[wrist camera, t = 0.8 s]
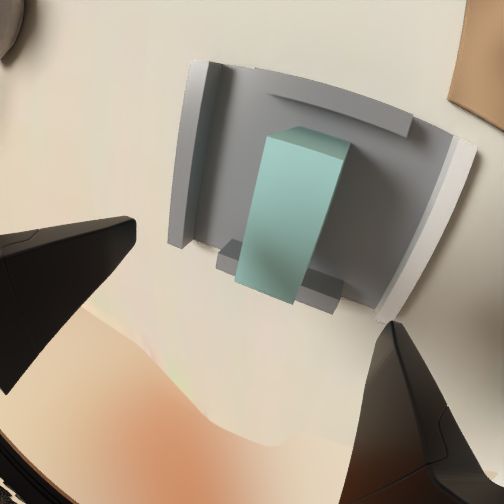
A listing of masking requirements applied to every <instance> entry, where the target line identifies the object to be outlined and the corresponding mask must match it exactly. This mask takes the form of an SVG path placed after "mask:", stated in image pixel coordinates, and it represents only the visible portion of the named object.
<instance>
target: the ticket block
mask: <svg viewBox="0 0 504 504" xmlns="http://www.w3.org/2000/svg"><path fill="white" fill-rule="evenodd" d="M350 144H351V142H348V141H345V140H343V139H340V138H337V137H334V136H331V135H328V134H324V133H321V132H318V131H315V130H312V129H308V128H305V127H302V126H298V127H294V128H291V129H288V130H285V131H282V132H278V133H275V134H272V135H269V136H267V138H266V142H265V146H264V151H263V155H262V160H261V164H260V168H259V173H258V177H257V181H256V186H255V190H254V195H253V199H252V204H251V208H250V212H249V217H248V221H247V226H246V230H245V235H244V239H243V244H242V248H241V253H240V257H239V262H238V267H237V271H236V276H235V280H234V281H235V282H237V283H240V284H242V285H245V286H247V287H249V288H252V289H254V290H257V291H259V292H262V293H264V294H267V295H269V296H272V297H274V298H277V299H279V300H282V301H284V302H287V303H290V304H292V305H293V303H294V300H295V298H296V296H297V293H298V291H299V288H300V286H301V283H302V281H303V279H304V276H305V274H306V271H307V269H308V266H309V264H310V261H311V259H312V256H313V253H314V251H315V248H316V246H317V243H318V240H319V237H320V234H321V232H322V229H323V226H324V223H325V220H326V217H327V214H328V212H329V209H330V206H331V203H332V200H333V197H334V194H335V191H336V188H337V185H338V182H339V179H340V176H341V172H342V169H343V166H344V163H345V160H346V157H347V153H348V150H349V147H350Z"/></svg>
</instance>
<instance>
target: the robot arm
mask: <svg viewBox="0 0 504 504" xmlns="http://www.w3.org/2000/svg"><path fill="white" fill-rule="evenodd" d="M135 243H136V220H135V219H133V218H131V217H128V216H120V217H113V218H106V219H99V220H92V221H85V222H79V223H72V224H66V225H60V226H54V227H48V228H42V229H40V230H39V229H36V230H31V231H24V232H19V233H12V234H4V235H0V389H1V390H2V391H3V393H4V394H5V395H7V394H8V393H9V392H10V391H11V389H12V388H13V387H14V385H15V384H16V383H17V381H18V380H19V379H20V377H21V376H22V375H23V374H24V372H25V371H26V370H27V369H28V367H29V366H30V365H31V364H32V362H33V361H34V360H35V359H36V357H37V356H38V355H39V353H40V352H41V351H42V350H43V349H44V347H45V346H46V345H47V344H48V343H49V342H50V340H51V339H52V338H53V337H54V336H55V335H56V333H57V332H58V331H59V330H60V329H61V328H62V326H63V325H64V324H65V323H66V322H67V321H68V320H69V319H70V318H71V316H72V315H73V314H74V313H75V312H76V311H77V310H78V309H79V308H80V307H81V305H82V304H83V303H84V302H85V301H86V300H87V299H88V298H89V297H90V296H91V295H92V294H93V293H94V291H95V290H96V289H97V288H98V287H99V286H100V285H101V284H102V283H103V282H104V281H105V280H106V279H107V278H108V277H109V276H110V275H111V273H112V272H113V271H114V270H115V269H116V267H117V266H118V265H119V264H120V262H121V261H122V260H123V259H124V257H125V256H126V255H127V254H128V253H129V251H130V250H131V249H132V248H133V246H134V245H135ZM446 406H447V403H446V401H445V399H444V397H443V395H442V393H441V391H440V390H439V388H438V386H437V384H436V382H435V380H434V378H433V376H432V375H431V373H430V371H429V369H428V367H427V366H426V364H425V362H424V360H423V358H422V357H421V355H420V353H419V351H418V350H417V348H416V346H415V345H414V343H413V341H412V339H411V338H410V336H409V334H408V333H407V331H406V329H405V328H404V326H403V325H402V324H401V323H398V322H396V321H393V320H391V321H389V322H388V324H387V325H386V327H385V328H384V330H383V331H382V333H381V334H380V336H379V337H378V339H377V341H376V344H375V348H374V352H373V356H372V360H371V364H370V368H369V372H368V376H367V380H366V384H365V389H364V394H363V401H362V406H361V412H360V417H359V423H358V428H357V433H356V437H355V442H354V447H353V451H352V455H351V460H350V464H349V468H348V472H347V476H346V479H345V483H344V487H343V491H342V494H341V497H340V501H339V504H504V487H502V486H499V485H497V484H495V483H494V482H492V481H491V480H490V479H489V478H488V477H487V476H486V475H485V473H484V472H483V470H482V468H481V466H480V464H479V463H478V461H477V459H476V457H475V455H474V454H473V452H472V450H471V448H470V446H469V445H468V443H467V441H466V439H465V437H464V436H463V434H462V432H461V430H460V429H459V427H458V425H457V423H456V421H455V419H454V417H453V415H452V413H451V411H450V409H449V407H448V406H447V407H446ZM0 478H2V479H3V480H4V482H3V483H4V484H5V485H6V486H7V487H8V488H10V489H11V490H12V491H14V492H15V493H16V495H15V496H16V497H17V498H18V499H19V500H21V501H22V502H24V503H26V504H79V503H77V502H76V501H74V500H73V499H72V498H71V497H70V496H68V495H67V494H66V493H64V492H63V491H62V490H61V489H60V488H58V487H57V486H56V485H55V484H54V483H53V482H52V481H51V480H49V479H48V478H47V477H46V476H45V475H44V474H43V473H42V472H41V471H39V470H38V469H37V468H36V467H35V466H34V465H33V464H32V463H31V462H30V461H29V460H28V459H27V458H26V457H25V456H24V455H23V454H22V453H21V452H20V451H19V450H18V449H17V448H16V446H15V445H14V444H13V443H12V442H11V441H10V440H9V439H8V438H7V437H6V435H5V434H4V433H3V432H2V431H1V430H0ZM11 497H12V495H11V494H10V493H9V492H8V491H7V490H5V489H4V488H3V487H1V486H0V504H17V503H15V502H14V501H12V499H11Z"/></svg>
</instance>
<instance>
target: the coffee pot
mask: <svg viewBox="0 0 504 504" xmlns="http://www.w3.org/2000/svg"><path fill="white" fill-rule="evenodd" d="M23 16H24V1H23V0H0V59H1V58H2V57H3V56H4V55H5V53H6V52H7V51H8V50H10V48H11V47H12V46H13V44H14V42H15V41H16V38H17V36H18V34H19V31H20V28H21V25H22V20H23Z"/></svg>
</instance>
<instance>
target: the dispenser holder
mask: <svg viewBox="0 0 504 504" xmlns="http://www.w3.org/2000/svg"><path fill="white" fill-rule="evenodd" d="M298 126H302V127H305V128H308V129H312V130H315V131H318V132H321V133H324V134H328V135H331V136H334V137H337V138H340V139H343V140H345V141H348V142H351V144H350V147H349V150H348V153H347V157H346V160H345V163H344V166H343V169H342V172H341V176H340V179H339V182H338V185H337V188H336V191H335V194H334V197H333V200H332V203H331V206H330V209H329V212H328V214H327V217H326V220H325V223H324V226H323V229H322V232H321V234H320V237H319V240H318V243H317V246H316V248H315V251H314V253H313V256H312V259H311V261H310V264H309V266H308V269H307V271H306V274H305V276H304V279H303V281H302V283H301V286H300V288H299V291H298V293H297V296H296V298H295V300H296V301H298V302H301V303H304V304H306V305H309V306H311V307H314V308H317V309H319V310H322V311H324V312H327V313H330V314H332V315H333V313H334V311H335V309H336V307H337V305H338V303H339V301H340V297H341V296H342V297H345V298H347V299H350V300H352V301H355V302H358V303H360V304H363V305H366V306H368V307H371V308H373V309H375V320H376V321H378V322H381V323H384V324H386V325H387V324H388V322H389V321H391V320H393V321H394V319H395V318H396V316H397V314H398V313H399V311H400V310H401V308H402V306H403V305H404V303H405V301H406V300H407V298H408V297H409V295H410V293H411V291H412V290H413V288H414V286H415V285H416V283H417V281H418V279H419V278H420V276H421V274H422V272H423V270H424V269H425V267H426V265H427V263H428V261H429V259H430V257H431V256H432V254H433V252H434V250H435V248H436V246H437V244H438V242H439V240H440V238H441V236H442V234H443V232H444V230H445V227H446V225H447V223H448V221H449V219H450V217H451V215H452V212H453V210H454V208H455V206H456V203H457V201H458V199H459V196H460V194H461V191H462V189H463V186H464V184H465V181H466V179H467V176H468V174H469V171H470V168H471V166H472V163H473V160H474V157H475V154H476V152H477V149H478V147H476V146H474V145H472V144H471V143H469V142H467V141H465V140H463V139H461V138H459V137H457V136H454V135H452V134H450V133H448V132H446V131H444V130H442V129H440V128H438V127H436V126H433V125H431V124H429V123H427V122H425V121H422V120H420V119H418V118H416V117H413V115H412V114H410V113H408V112H405V111H403V110H400V109H398V108H395V107H393V106H390V105H388V104H385V103H382V102H380V101H377V100H374V99H371V98H369V97H366V96H363V95H360V94H357V93H354V92H351V91H347V90H344V89H341V88H338V87H334V86H331V85H327V84H324V83H320V82H317V81H313V80H309V79H305V78H301V77H297V76H293V75H288V74H284V73H279V72H274V71H269V70H264V69H259V68H255V69H251V68H245V67H239V66H232V65H225V64H220V63H215V62H209V61H200V60H191V62H190V67H189V72H188V77H187V83H186V89H185V94H184V100H183V107H182V113H181V120H180V126H179V133H178V141H177V148H176V156H175V165H174V174H173V183H172V193H171V204H170V215H169V228H168V244H171V245H173V246H175V247H178V248H180V249H182V248H184V247H185V246H186V245H187V244H188V243H190V242H191V241H192V240H193V239H195V240H198V241H200V242H203V243H206V244H208V245H211V246H213V247H216V248H218V249H221V251H220V252H219V253H218V257H217V263H216V269H219V270H221V271H224V272H226V273H228V274H231V275H233V276H236V271H237V267H238V262H239V257H240V253H241V248H242V244H243V239H244V235H245V230H246V226H247V221H248V217H249V212H250V208H251V204H252V199H253V195H254V190H255V186H256V181H257V177H258V173H259V168H260V164H261V160H262V155H263V151H264V146H265V142H266V138H267V136H269V135H272V134H275V133H278V132H282V131H285V130H288V129H291V128H294V127H298Z"/></svg>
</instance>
